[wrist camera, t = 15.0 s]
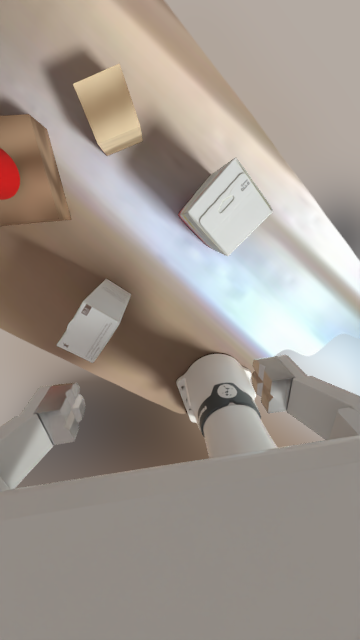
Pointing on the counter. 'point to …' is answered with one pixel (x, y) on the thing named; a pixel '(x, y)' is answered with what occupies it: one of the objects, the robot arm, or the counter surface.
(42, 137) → the walnut block
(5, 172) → the beverage can
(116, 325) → the skincare box
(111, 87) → the oak block
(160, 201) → the counter surface
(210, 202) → the ink box
